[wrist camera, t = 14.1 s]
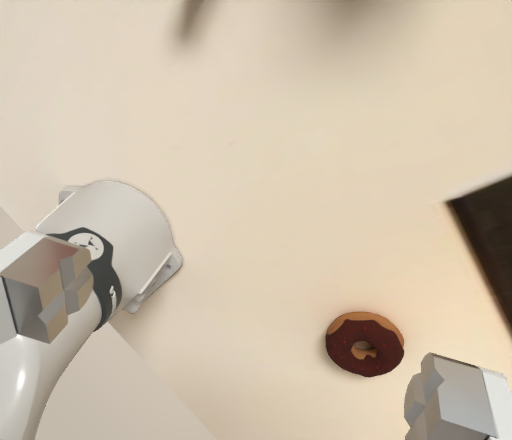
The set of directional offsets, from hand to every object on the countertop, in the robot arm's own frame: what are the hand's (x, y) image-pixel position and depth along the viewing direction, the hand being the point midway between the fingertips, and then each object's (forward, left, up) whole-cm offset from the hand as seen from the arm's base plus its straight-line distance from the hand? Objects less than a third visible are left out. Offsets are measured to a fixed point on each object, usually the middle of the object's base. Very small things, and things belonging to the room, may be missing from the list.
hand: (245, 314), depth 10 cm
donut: (-28, -23, -35) cm, 50 cm away
